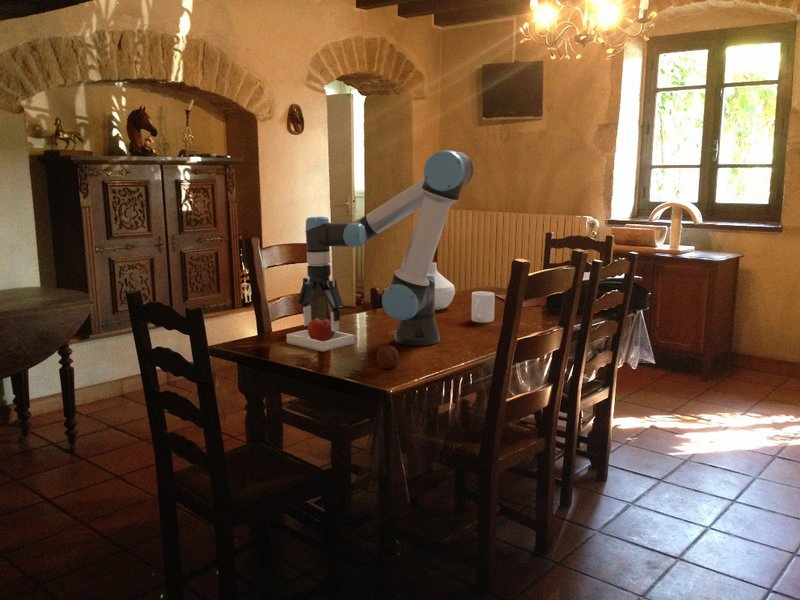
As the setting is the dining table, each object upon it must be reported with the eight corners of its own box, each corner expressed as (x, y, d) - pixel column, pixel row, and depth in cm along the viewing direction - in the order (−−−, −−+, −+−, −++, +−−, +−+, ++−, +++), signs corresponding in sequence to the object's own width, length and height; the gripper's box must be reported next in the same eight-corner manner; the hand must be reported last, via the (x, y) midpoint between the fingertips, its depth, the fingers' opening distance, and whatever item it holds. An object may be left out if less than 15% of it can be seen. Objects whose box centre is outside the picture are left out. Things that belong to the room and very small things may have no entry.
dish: (354, 343, 234) (354, 335, 233) (323, 351, 224) (322, 342, 223) (318, 335, 246) (317, 327, 245) (286, 342, 235) (286, 334, 235)
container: (325, 335, 247) (324, 284, 244) (301, 334, 249) (299, 283, 245) (332, 329, 255) (331, 280, 252) (309, 328, 257) (308, 279, 254)
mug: (464, 323, 265) (464, 295, 264) (476, 317, 276) (477, 290, 274) (485, 325, 261) (486, 297, 259) (497, 319, 272) (497, 292, 270)
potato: (369, 369, 204) (369, 347, 203) (383, 361, 212) (383, 340, 211) (391, 371, 201) (391, 349, 200) (404, 363, 210) (404, 342, 208)
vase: (413, 303, 306) (413, 259, 302) (456, 304, 303) (456, 260, 300) (408, 311, 288) (408, 265, 284) (453, 312, 285) (453, 266, 282)
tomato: (310, 337, 240) (309, 315, 238) (336, 338, 240) (336, 315, 238) (305, 344, 231) (304, 320, 229) (333, 344, 230) (332, 320, 229)
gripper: (353, 265, 225) (355, 330, 228) (302, 260, 241) (305, 321, 245) (336, 268, 219) (338, 334, 223) (285, 263, 235) (288, 325, 239)
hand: (321, 328), depth 234 cm, fingers open, 13 cm apart
